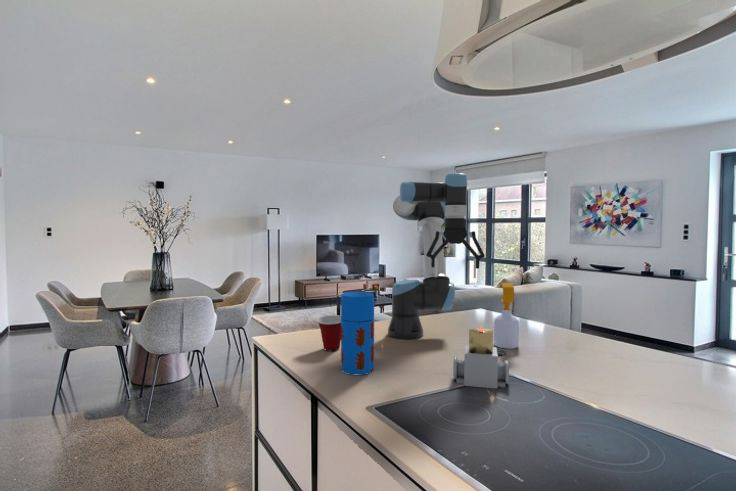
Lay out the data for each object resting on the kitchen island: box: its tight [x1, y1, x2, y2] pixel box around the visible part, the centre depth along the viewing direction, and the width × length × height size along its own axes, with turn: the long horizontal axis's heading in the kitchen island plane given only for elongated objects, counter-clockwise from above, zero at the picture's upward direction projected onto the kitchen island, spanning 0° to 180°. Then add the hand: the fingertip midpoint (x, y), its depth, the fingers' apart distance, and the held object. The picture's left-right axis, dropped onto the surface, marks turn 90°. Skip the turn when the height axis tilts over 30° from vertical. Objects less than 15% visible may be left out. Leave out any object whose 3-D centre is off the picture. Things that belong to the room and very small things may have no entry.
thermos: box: [340, 291, 375, 375], centre depth 141 cm, size 11×11×25 cm
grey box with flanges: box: [452, 344, 510, 389], centre depth 131 cm, size 16×9×10 cm, turn 76°
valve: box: [468, 326, 494, 354], centre depth 131 cm, size 7×7×9 cm
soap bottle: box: [493, 282, 520, 350], centre depth 169 cm, size 9×9×25 cm
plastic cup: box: [316, 314, 341, 351], centre depth 165 cm, size 11×11×12 cm
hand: (455, 277), depth 154 cm, fingers open, 13 cm apart
